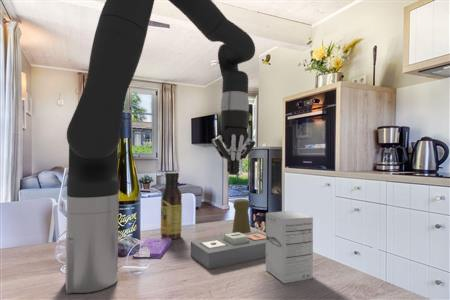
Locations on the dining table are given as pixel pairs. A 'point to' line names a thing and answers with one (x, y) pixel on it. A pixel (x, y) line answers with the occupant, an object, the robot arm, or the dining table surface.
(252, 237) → the terracotta key
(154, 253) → the sponges
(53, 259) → the dining table surface
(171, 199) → the sauce bottle
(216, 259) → the keypad
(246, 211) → the cork
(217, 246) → the cream key
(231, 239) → the sage key
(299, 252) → the supplement box
